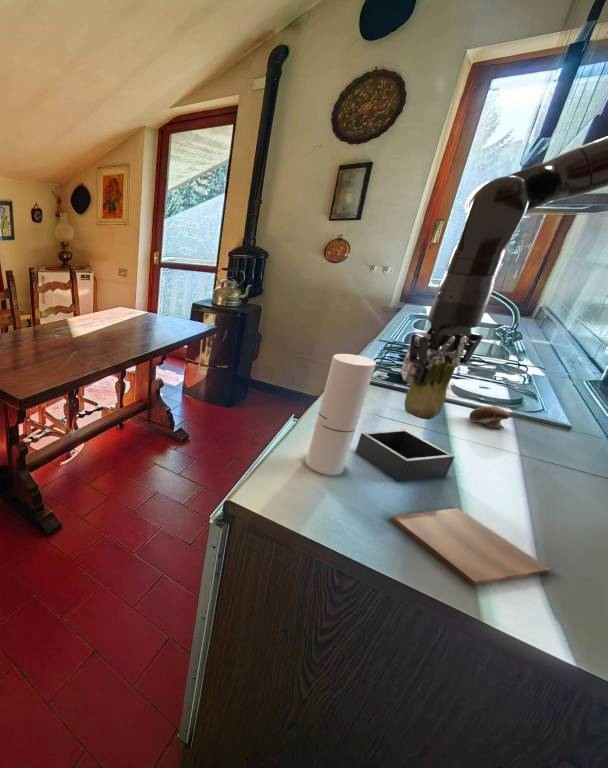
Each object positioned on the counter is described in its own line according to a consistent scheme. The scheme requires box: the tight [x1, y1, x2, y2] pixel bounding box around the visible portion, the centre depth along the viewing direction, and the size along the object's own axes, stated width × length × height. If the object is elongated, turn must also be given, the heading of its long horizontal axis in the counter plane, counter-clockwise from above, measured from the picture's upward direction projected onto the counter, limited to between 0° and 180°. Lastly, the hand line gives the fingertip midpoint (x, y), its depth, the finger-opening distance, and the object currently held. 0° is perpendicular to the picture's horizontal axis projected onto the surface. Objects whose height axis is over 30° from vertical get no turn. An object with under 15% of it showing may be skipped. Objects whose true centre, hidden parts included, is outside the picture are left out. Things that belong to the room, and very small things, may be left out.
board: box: [390, 507, 551, 587], centre depth 64 cm, size 14×14×1 cm
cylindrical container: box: [305, 353, 377, 476], centre depth 81 cm, size 7×7×25 cm
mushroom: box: [468, 405, 511, 430], centre depth 104 cm, size 8×8×6 cm
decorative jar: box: [400, 331, 454, 388], centre depth 132 cm, size 12×12×18 cm
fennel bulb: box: [404, 361, 457, 420], centre depth 79 cm, size 6×5×12 cm
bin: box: [355, 428, 455, 483], centre depth 85 cm, size 12×12×6 cm
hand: (430, 383), depth 78 cm, fingers closed on fennel bulb, 4 cm apart
